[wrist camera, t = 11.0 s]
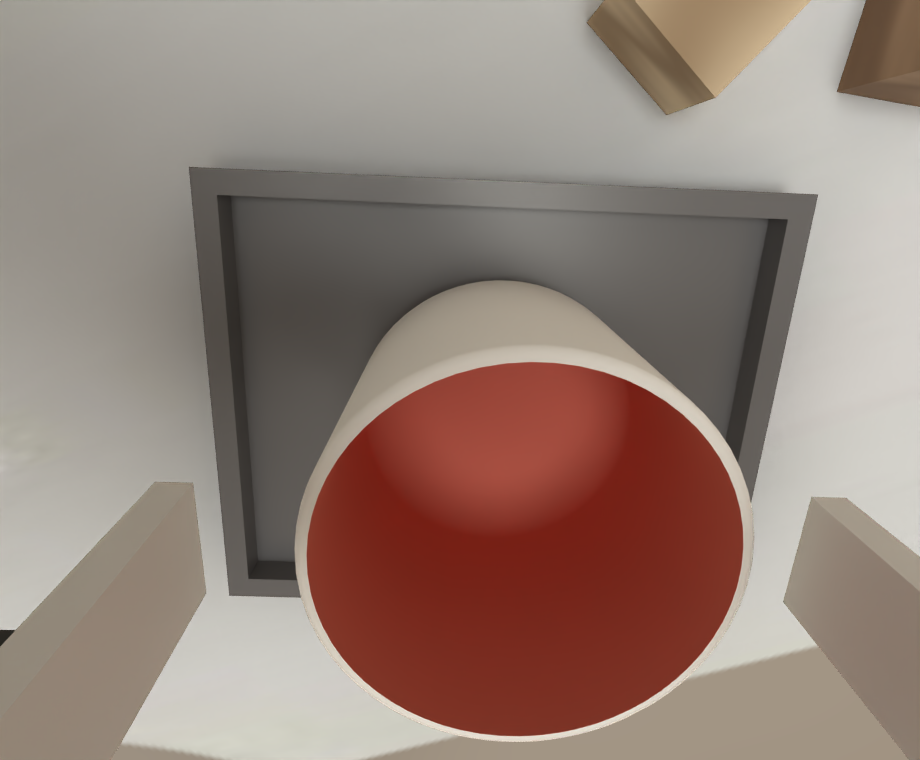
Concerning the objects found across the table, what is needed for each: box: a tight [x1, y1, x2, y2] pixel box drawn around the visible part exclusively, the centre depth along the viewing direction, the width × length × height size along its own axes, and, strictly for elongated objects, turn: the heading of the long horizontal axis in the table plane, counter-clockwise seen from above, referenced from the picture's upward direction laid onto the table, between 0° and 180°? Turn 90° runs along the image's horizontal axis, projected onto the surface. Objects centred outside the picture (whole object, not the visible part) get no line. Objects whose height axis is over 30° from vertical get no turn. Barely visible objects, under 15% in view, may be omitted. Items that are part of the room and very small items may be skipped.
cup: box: [294, 280, 754, 742], centre depth 17 cm, size 10×10×10 cm
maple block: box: [587, 0, 811, 115], centre depth 17 cm, size 4×4×4 cm
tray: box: [189, 167, 818, 597], centre depth 22 cm, size 20×16×2 cm
